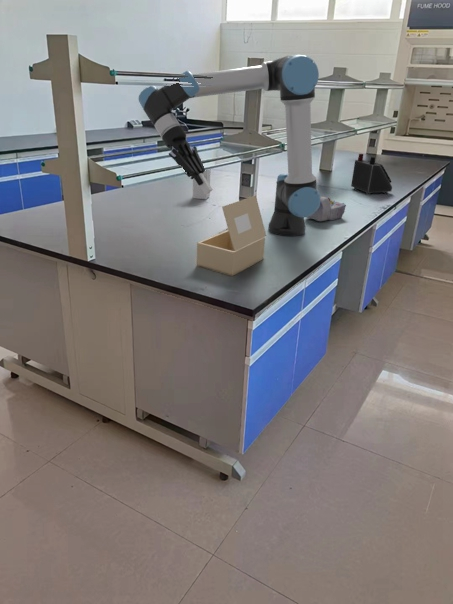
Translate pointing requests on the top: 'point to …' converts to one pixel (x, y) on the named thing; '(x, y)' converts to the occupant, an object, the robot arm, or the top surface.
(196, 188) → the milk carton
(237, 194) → the top surface
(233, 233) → the lid
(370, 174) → the voltmeter
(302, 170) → the robot arm
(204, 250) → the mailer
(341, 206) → the grey rock
